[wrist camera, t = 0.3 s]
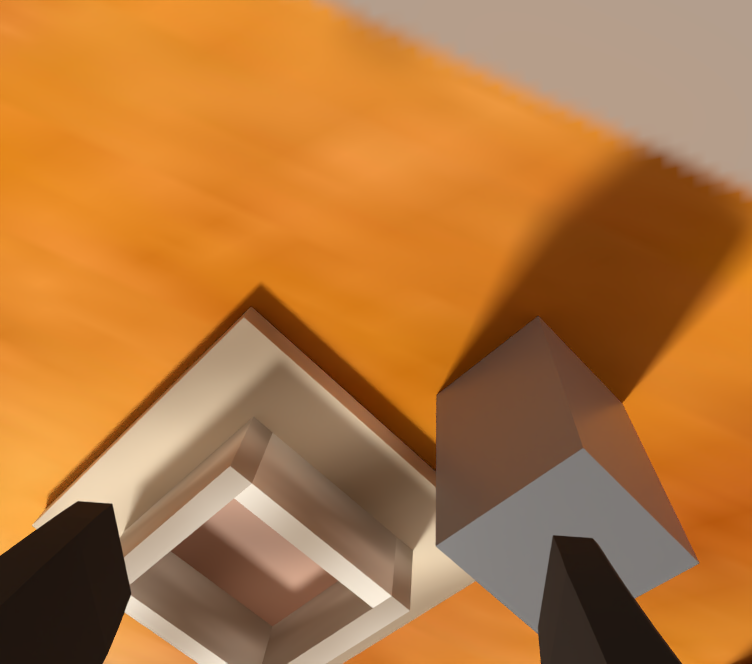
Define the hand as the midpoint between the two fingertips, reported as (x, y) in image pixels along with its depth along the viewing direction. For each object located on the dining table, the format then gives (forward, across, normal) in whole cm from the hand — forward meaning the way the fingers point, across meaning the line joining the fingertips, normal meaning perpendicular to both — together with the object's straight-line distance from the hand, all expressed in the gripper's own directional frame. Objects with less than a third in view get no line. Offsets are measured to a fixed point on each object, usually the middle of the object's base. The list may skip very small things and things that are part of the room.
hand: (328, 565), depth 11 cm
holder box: (+10, +4, +8) cm, 13 cm away
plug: (+10, -5, +2) cm, 11 cm away
